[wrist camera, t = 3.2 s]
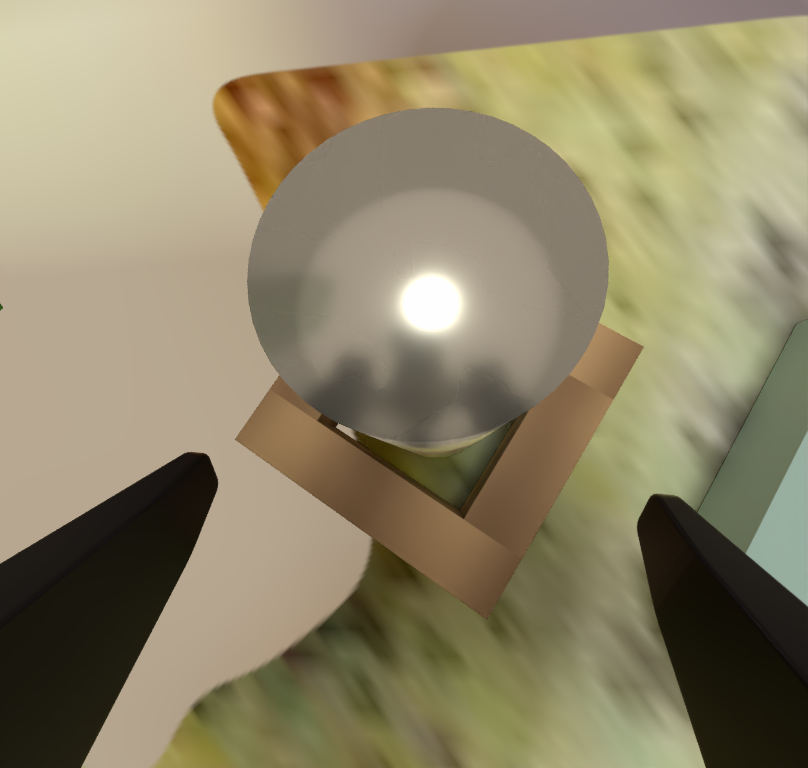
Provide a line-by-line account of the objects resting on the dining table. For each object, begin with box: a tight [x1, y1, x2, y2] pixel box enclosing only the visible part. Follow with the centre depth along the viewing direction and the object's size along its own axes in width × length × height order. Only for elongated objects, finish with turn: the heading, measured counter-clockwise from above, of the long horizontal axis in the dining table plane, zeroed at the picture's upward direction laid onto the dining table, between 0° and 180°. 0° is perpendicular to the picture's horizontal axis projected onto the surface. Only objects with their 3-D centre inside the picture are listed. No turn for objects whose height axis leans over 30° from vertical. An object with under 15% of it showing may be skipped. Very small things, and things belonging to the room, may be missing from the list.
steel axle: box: [247, 108, 609, 458], centre depth 12 cm, size 5×5×14 cm
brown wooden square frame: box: [235, 323, 643, 619], centre depth 18 cm, size 12×12×3 cm
